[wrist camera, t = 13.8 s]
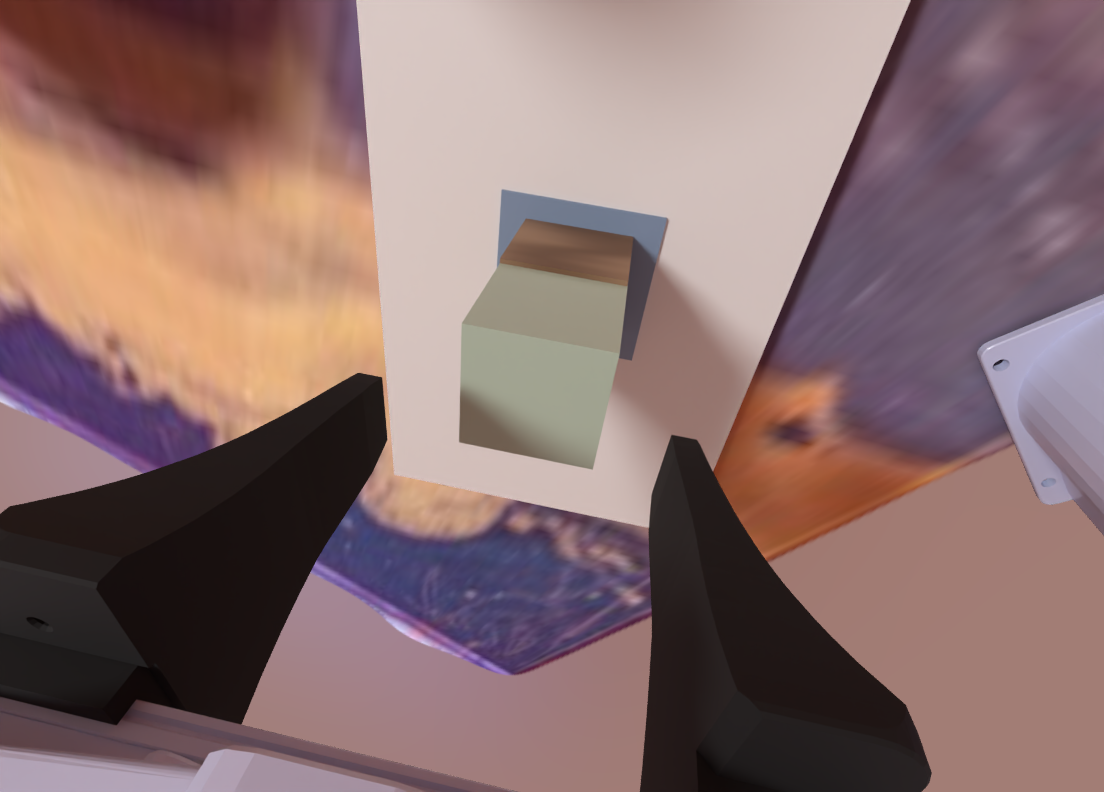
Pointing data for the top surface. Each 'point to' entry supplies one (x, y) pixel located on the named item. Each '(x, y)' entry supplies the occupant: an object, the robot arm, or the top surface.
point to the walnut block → (571, 251)
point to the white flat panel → (604, 200)
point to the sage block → (540, 364)
